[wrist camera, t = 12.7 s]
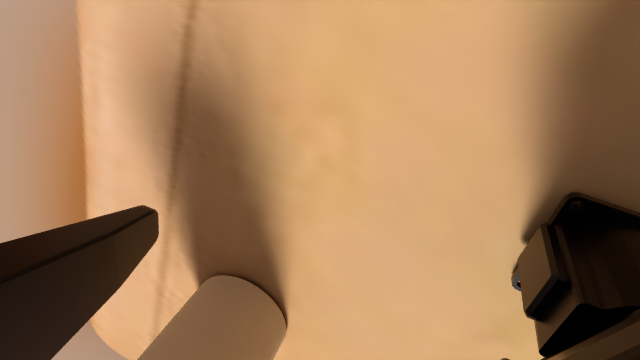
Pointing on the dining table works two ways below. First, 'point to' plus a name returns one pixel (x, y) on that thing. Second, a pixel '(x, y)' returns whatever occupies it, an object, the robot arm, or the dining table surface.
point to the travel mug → (222, 325)
